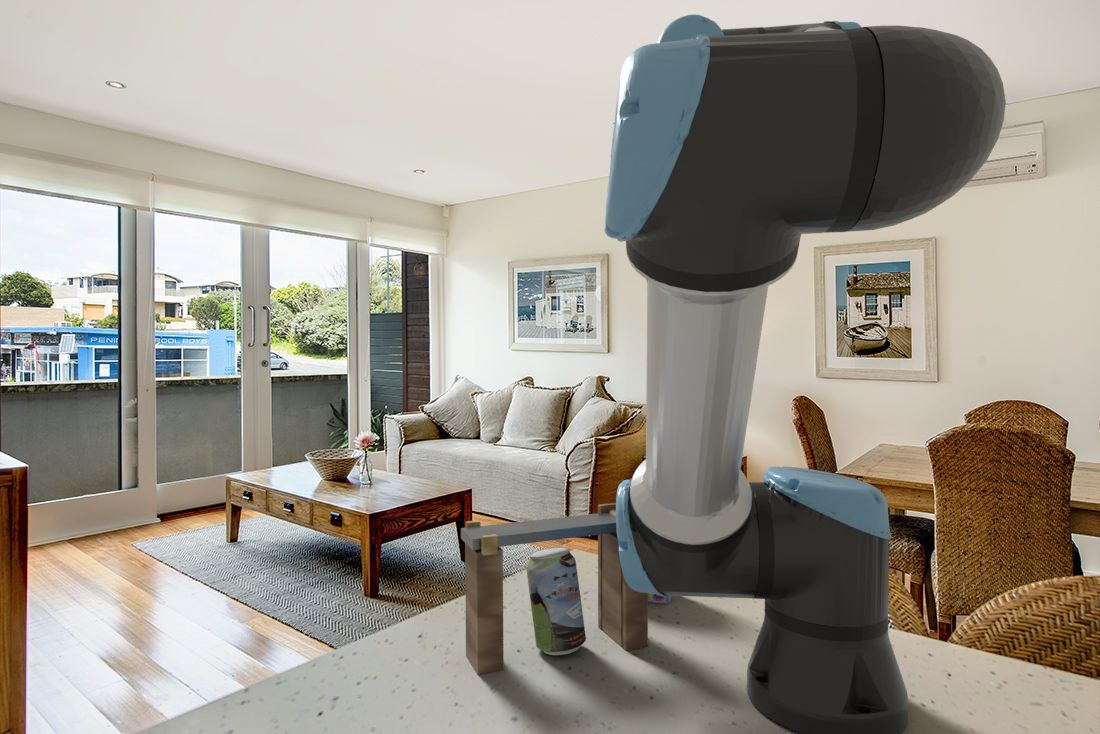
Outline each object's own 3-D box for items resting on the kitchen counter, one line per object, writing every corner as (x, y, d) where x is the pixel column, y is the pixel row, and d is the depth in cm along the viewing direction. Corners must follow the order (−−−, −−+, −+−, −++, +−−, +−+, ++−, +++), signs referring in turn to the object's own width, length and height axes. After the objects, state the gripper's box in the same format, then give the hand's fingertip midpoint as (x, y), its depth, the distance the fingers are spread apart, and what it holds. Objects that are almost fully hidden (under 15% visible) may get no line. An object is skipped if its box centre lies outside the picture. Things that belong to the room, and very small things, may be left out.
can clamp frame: (618, 623, 87) (618, 502, 87) (647, 646, 80) (647, 515, 80) (463, 651, 79) (462, 518, 79) (480, 679, 72) (479, 534, 72)
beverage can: (574, 666, 75) (573, 561, 75) (517, 654, 78) (516, 553, 78) (594, 644, 81) (593, 546, 81) (540, 633, 84) (539, 539, 84)
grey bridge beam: (618, 522, 85) (618, 508, 85) (638, 532, 81) (638, 517, 81) (460, 540, 78) (460, 525, 77) (472, 552, 73) (472, 536, 73)
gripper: (705, 189, 91) (705, 361, 91) (621, 180, 86) (622, 362, 86) (741, 175, 84) (740, 362, 84) (651, 165, 79) (652, 363, 79)
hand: (680, 362), depth 85 cm, fingers closed
